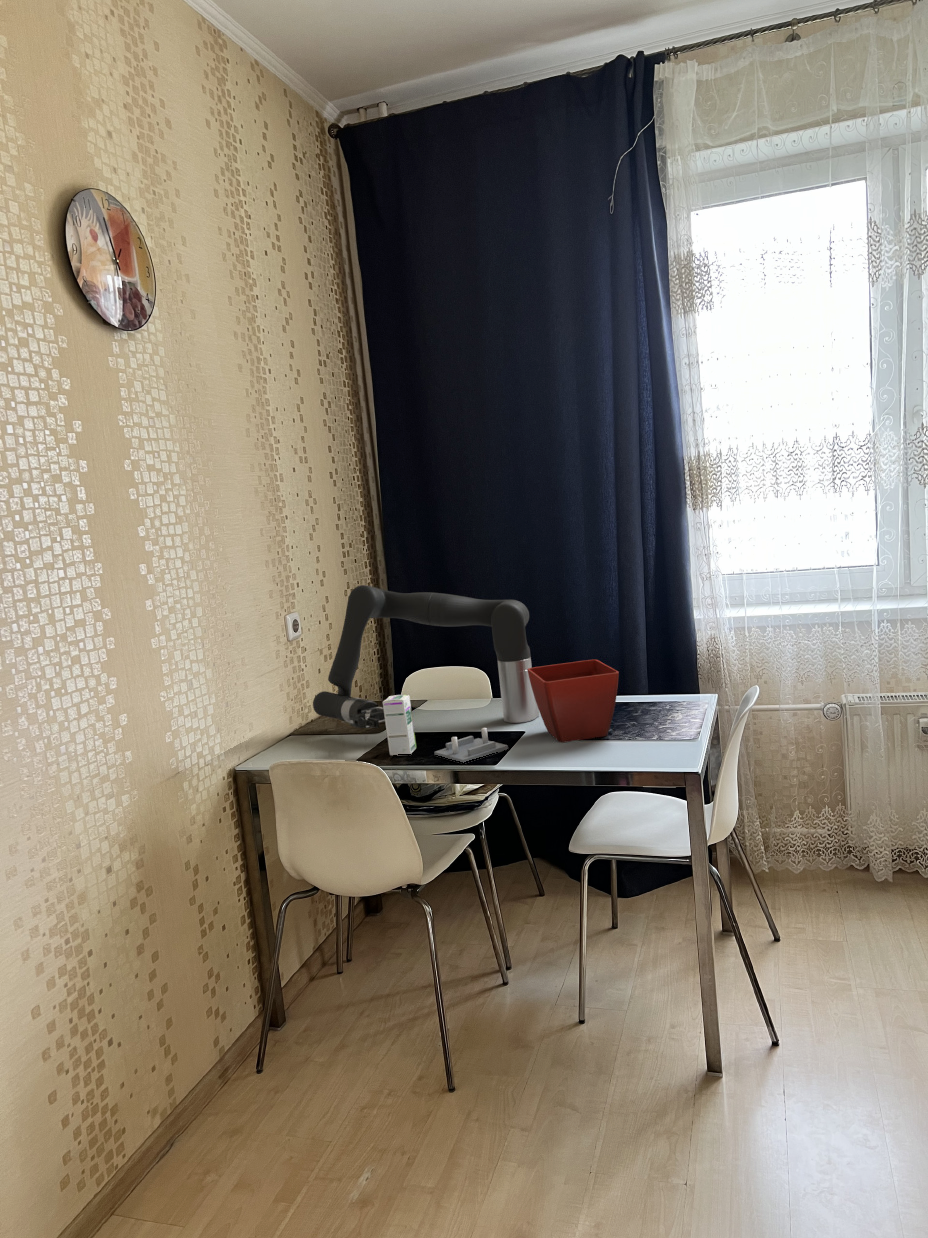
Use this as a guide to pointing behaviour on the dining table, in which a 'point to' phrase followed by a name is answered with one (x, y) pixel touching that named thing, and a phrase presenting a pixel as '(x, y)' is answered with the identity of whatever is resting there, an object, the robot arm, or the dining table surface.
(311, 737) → the dining table surface
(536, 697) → the plant pot
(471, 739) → the pegged rail plate
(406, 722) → the syrup box
